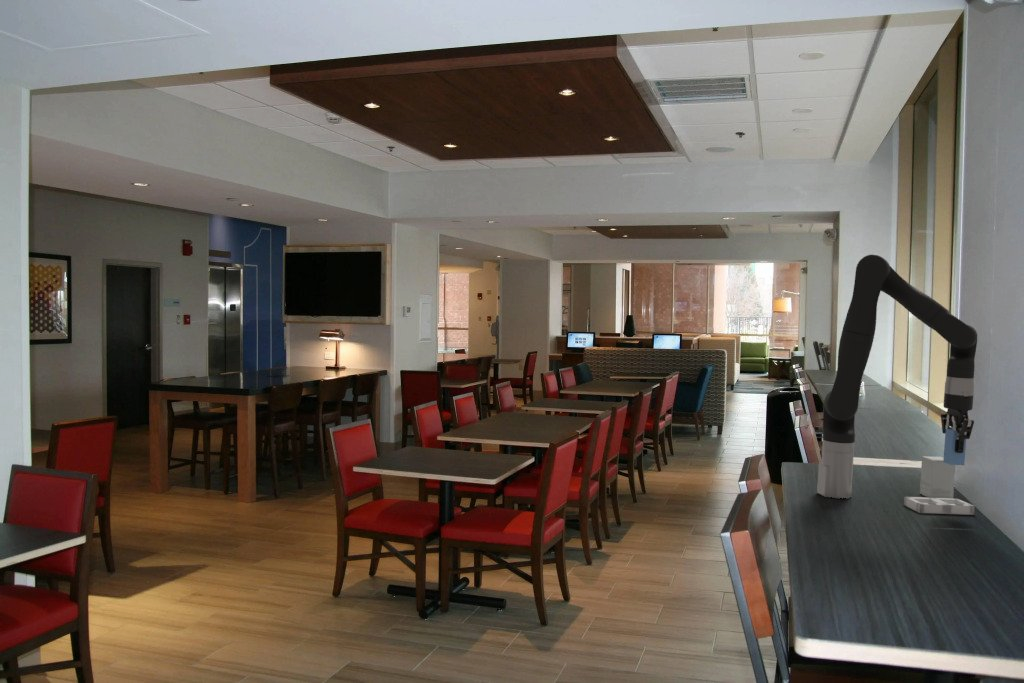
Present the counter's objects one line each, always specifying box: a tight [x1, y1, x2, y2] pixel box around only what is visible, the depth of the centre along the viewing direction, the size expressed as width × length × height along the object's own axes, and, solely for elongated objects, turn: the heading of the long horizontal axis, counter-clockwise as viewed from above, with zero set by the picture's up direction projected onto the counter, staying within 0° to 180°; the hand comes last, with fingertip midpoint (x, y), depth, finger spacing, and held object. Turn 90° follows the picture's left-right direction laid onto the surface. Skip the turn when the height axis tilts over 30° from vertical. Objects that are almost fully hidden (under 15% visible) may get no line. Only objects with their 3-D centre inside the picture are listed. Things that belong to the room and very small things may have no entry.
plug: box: [943, 427, 967, 466], centre depth 246 cm, size 4×4×11 cm
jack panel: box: [903, 496, 975, 516], centre depth 247 cm, size 16×9×3 cm, turn 91°
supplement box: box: [919, 455, 956, 498], centre depth 265 cm, size 7×7×13 cm
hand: (954, 450), depth 246 cm, fingers closed on plug, 4 cm apart
